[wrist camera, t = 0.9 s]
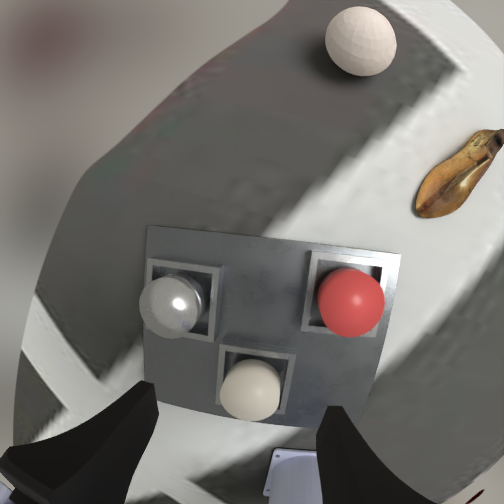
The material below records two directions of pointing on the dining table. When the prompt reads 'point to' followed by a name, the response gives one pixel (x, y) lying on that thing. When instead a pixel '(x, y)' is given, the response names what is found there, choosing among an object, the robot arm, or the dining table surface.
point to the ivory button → (251, 390)
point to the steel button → (172, 305)
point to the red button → (350, 302)
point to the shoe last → (458, 175)
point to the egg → (361, 41)
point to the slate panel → (264, 322)
